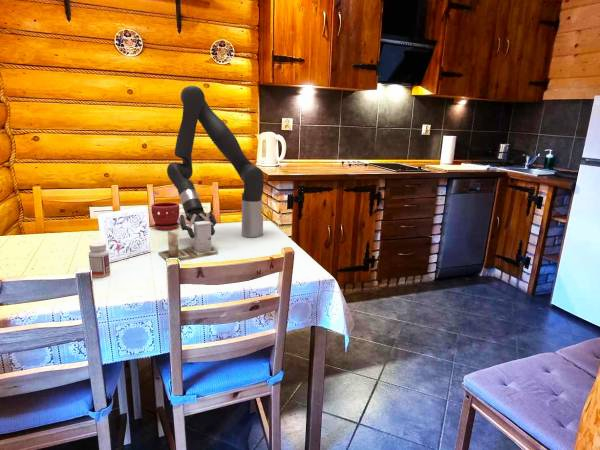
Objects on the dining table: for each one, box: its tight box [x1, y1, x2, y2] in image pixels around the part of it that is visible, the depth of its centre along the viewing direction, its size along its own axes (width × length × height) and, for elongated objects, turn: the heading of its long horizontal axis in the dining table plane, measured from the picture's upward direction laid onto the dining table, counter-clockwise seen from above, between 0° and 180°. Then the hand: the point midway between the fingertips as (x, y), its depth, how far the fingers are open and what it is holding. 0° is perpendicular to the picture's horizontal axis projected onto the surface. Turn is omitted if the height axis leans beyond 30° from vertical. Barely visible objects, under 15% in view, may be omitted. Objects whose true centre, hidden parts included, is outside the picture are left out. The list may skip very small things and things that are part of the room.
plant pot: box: [150, 201, 180, 231], centre depth 201 cm, size 13×13×12 cm
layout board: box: [157, 245, 219, 262], centre depth 163 cm, size 21×13×2 cm, turn 127°
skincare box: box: [193, 220, 212, 253], centre depth 166 cm, size 6×4×12 cm
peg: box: [167, 229, 179, 258], centre depth 159 cm, size 4×4×10 cm
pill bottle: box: [88, 241, 111, 279], centre depth 141 cm, size 6×6×11 cm
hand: (203, 236), depth 164 cm, fingers open, 8 cm apart
